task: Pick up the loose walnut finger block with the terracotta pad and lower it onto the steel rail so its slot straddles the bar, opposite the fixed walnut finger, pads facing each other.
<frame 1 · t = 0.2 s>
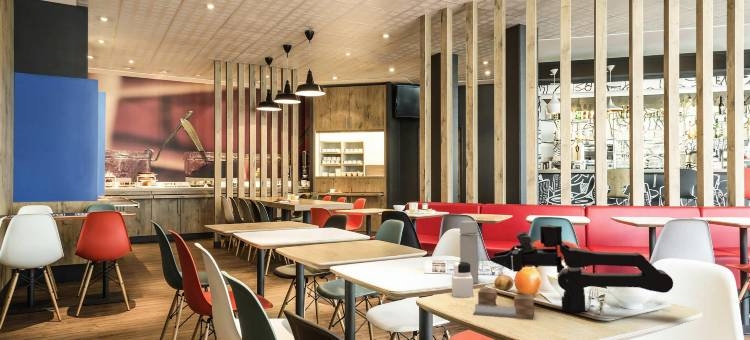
hand: (492, 257, 171), 17 cm above the table, tool horizontal, fingers open, 9 cm apart
medicine bottle: (462, 295, 188), on the table
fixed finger: (524, 316, 156), resting on rail
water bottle: (471, 283, 209), on the table
finger block: (487, 308, 169), on the table
rail: (503, 317, 159), on the table
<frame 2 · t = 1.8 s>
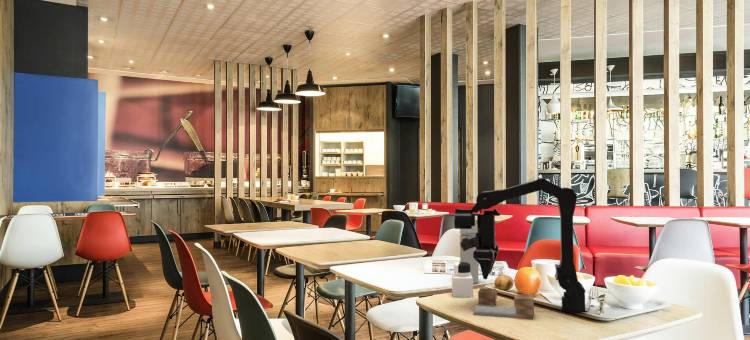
hand: (487, 276, 169), 11 cm above the table, tool pointing down, fingers open, 9 cm apart
nothing on the table moved.
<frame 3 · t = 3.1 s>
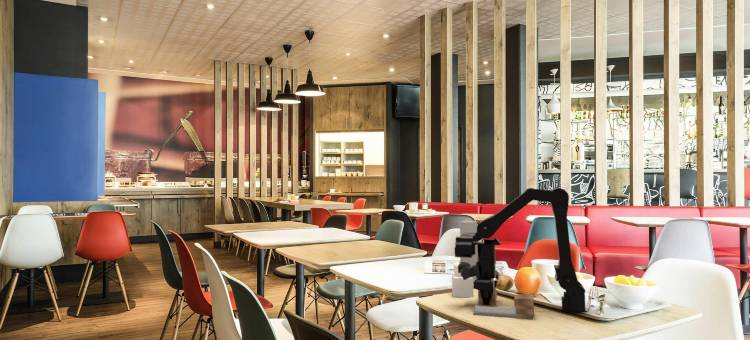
hand: (487, 305, 169), 1 cm above the table, tool pointing down, fingers closed on finger block, 6 cm apart
finger block: (487, 308, 169), on the table, touching gripper
everything else where it was.
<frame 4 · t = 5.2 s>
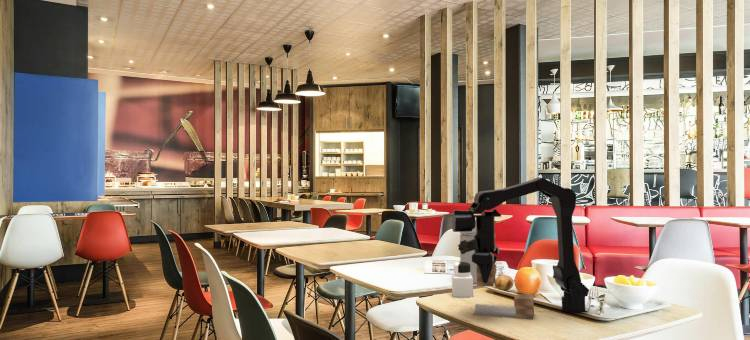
hand: (486, 280, 160), 11 cm above the table, tool pointing down, fingers closed on finger block, 6 cm apart
finger block: (486, 284, 160), point 10 cm above the table, touching gripper
everything else where it was.
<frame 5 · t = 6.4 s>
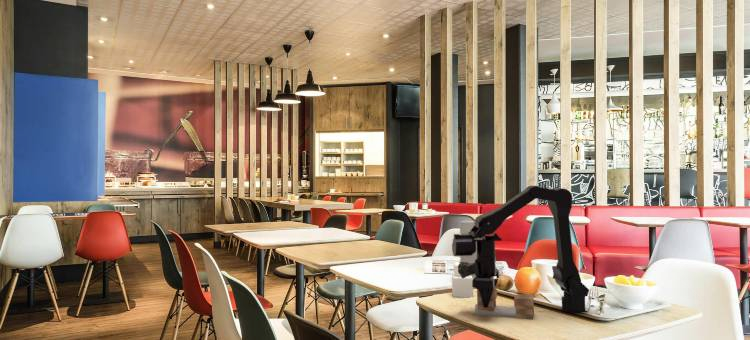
hand: (486, 304, 160), 3 cm above the table, tool pointing down, fingers closed on finger block, 6 cm apart
finger block: (486, 308, 160), point 2 cm above the table, touching gripper
everything else where it was.
when the fingers open (2 cm above the table, at t = 7.1 s): finger block stays where it is, resting on rail.
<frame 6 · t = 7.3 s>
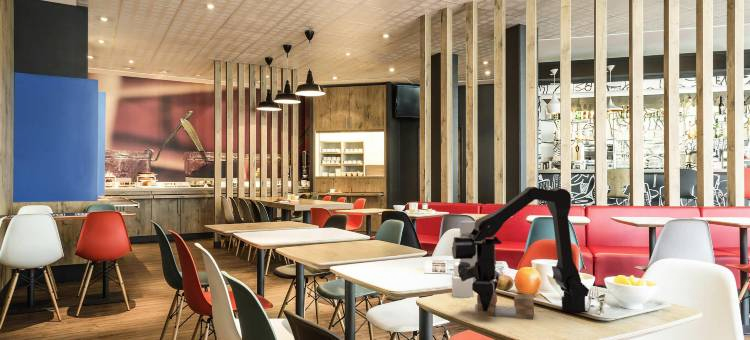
hand: (486, 307, 160), 2 cm above the table, tool pointing down, fingers open, 8 cm apart
finger block: (486, 313, 160), point 1 cm above the table, touching rail
everything else where it was.
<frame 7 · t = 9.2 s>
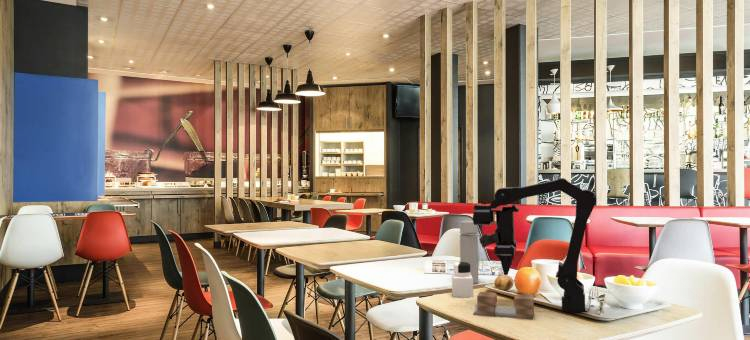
hand: (506, 272, 170), 12 cm above the table, tool pointing down, fingers open, 9 cm apart
nothing on the table moved.
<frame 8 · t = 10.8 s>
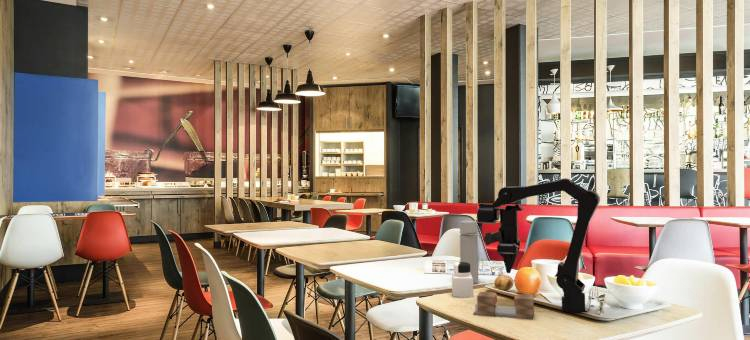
hand: (509, 270, 172), 12 cm above the table, tool pointing down, fingers open, 9 cm apart
nothing on the table moved.
at the end: finger block 0.0 cm from the target spot on the rail, point 0.8 cm above the rail's base; finger block tilted 0°; the gripper is holding nothing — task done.
